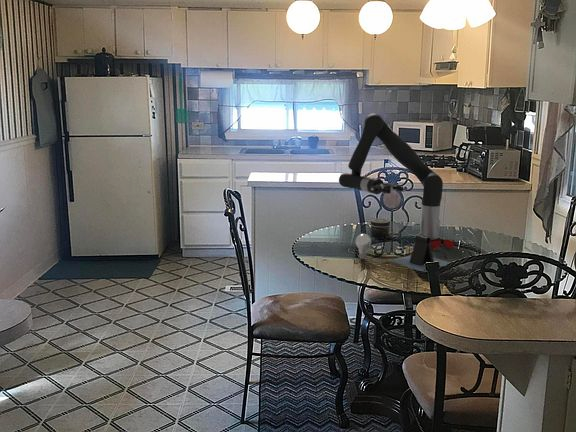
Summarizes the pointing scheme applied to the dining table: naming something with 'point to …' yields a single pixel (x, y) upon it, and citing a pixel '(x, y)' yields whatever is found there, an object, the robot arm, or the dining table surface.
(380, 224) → the jar
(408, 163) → the robot arm
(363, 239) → the light bulb
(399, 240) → the dining table surface
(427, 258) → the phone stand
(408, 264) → the tray
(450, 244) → the glasses
